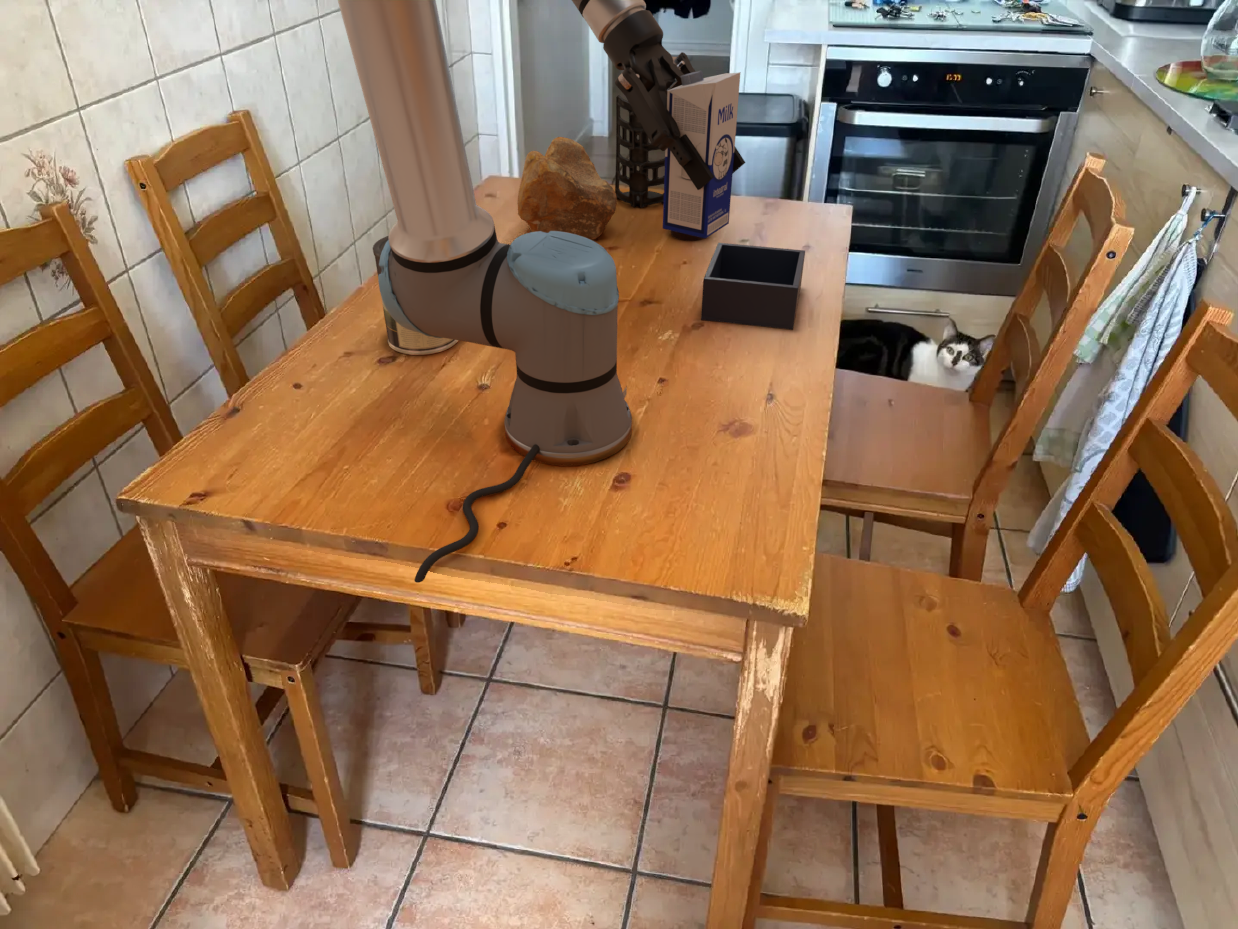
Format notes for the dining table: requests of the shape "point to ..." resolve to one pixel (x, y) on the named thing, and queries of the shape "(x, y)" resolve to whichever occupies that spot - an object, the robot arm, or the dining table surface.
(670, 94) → the milk carton
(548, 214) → the rough brown rock
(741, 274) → the box
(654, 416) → the dining table surface
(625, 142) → the holder
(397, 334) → the coffee can
